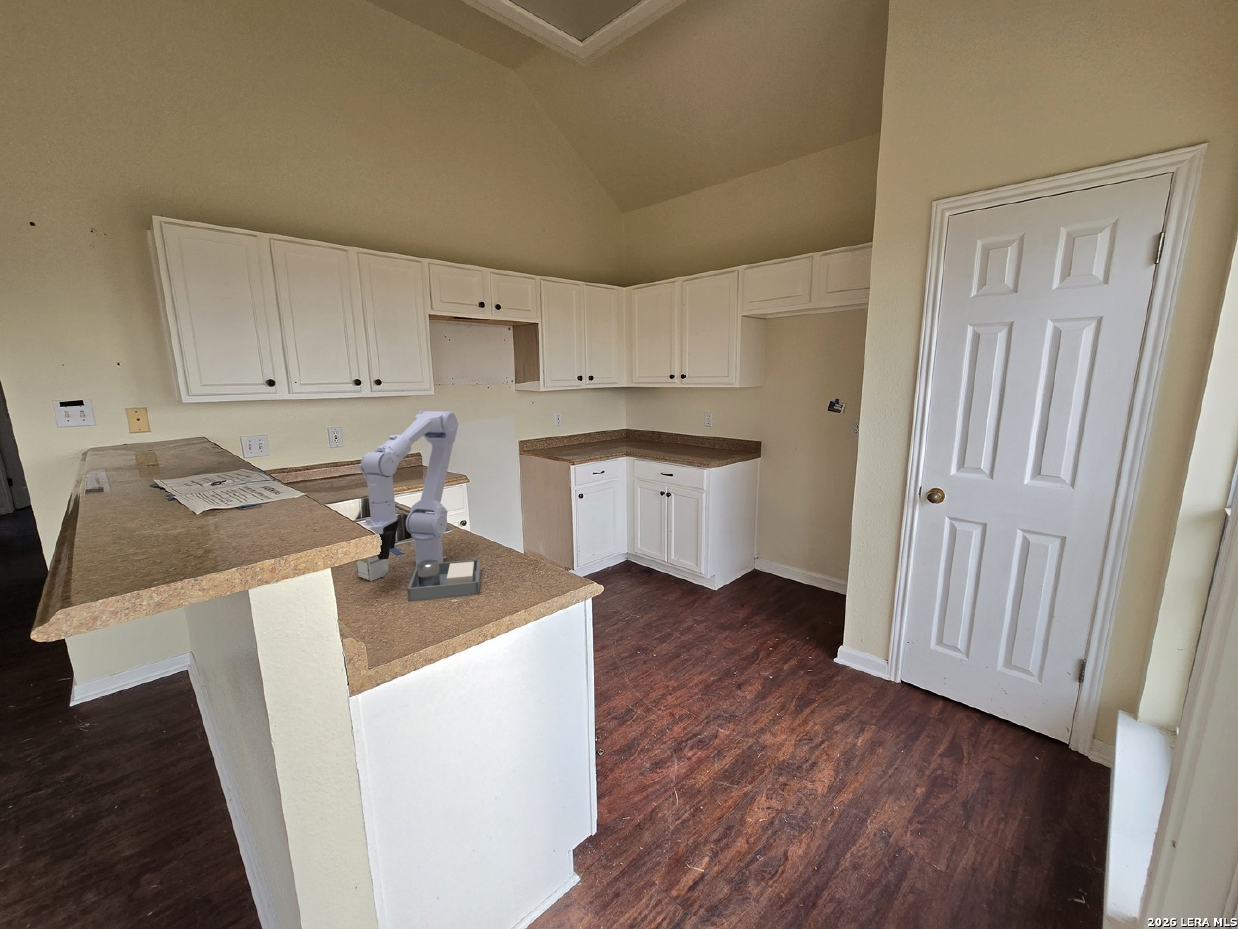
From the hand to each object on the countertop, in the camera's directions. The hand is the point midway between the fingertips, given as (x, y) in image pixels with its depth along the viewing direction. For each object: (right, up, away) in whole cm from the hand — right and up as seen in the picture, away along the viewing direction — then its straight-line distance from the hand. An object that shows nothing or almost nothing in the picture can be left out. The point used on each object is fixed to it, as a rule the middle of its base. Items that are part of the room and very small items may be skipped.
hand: (386, 553), depth 130 cm
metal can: (+10, -8, +1) cm, 13 cm away
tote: (+14, -9, +2) cm, 17 cm away
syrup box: (-8, -8, +10) cm, 15 cm away
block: (+18, -8, +3) cm, 20 cm away
